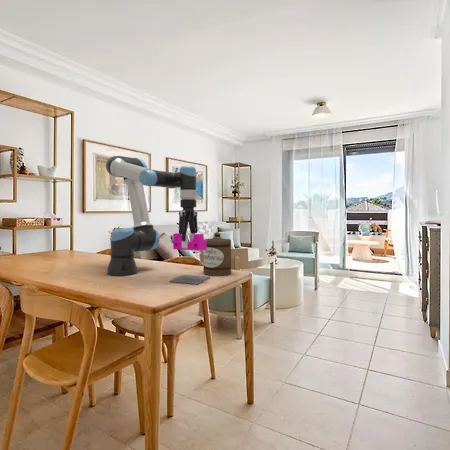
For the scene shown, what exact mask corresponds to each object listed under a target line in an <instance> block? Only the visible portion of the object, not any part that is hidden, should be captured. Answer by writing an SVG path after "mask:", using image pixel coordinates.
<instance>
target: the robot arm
mask: <svg viewBox="0 0 450 450" xmlns="http://www.w3.org/2000/svg"><path fill="white" fill-rule="evenodd" d="M105 170H106V171H107V173H108V174H109V175H111V176H113V177H117V178H122V179H123V183H124V184H126V185H127V190H128V197H129V203H130V208H131V214H132V220H133V221H132V222H133V226H132V227H125V228H124V227H122V228H116V229H114V230H112V231H111V232H110V260H109V263H108V266H107V269H106V274H107V275H110V276H117V277H119V276H120V277H122V276H123V277H125V276H131V275H136V274H138V267H137V263H136V261H135V253H137V252H149V251H153V250H155V249H157V248H158V246H159V243H160V232H159V231H158V230H157V229H154V224H153V223H151V221H150V216H149V209H148V206H147V200H146V193H145V187H144V186H146V187H158V188H166V189H177V188H179V191H180V192H179V193H180V204H179V205H180V208H182V211H178V215H179V217H178V219H179V221H178V233H179V234H181V235H182V248H188V241H189V242H191V241H192V240H193V238H194V234H198V231H199V229H198V212H197V211H195V208H197V200H196V198H197V168H196V167H195V166H192V165H183V166H181V167H180V168H179V171H176V172H172V171H162V170H156V169H151V168H148V165H147V163H146V162H145V161H144V160H143V159H141V158H137V157H129V156H123V155H113V156H111V157H109V158H108V159H107V160H106V162H105ZM188 225H189V226H188ZM188 227H189V230H190V233H189V234H187V232H188ZM188 236H189V237H188ZM188 238H189V239H188Z"/></svg>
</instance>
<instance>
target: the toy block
mask: <svg viewBox="0 0 450 450" xmlns="http://www.w3.org/2000/svg"><path fill="white" fill-rule="evenodd" d="M204 235H205V234H204V233H195V234H194V238H193V240H192V241H191V242H190V240H188V248H182V234H179V232H177V233H176V232H175V233H173V234H172V240H173V241H172V247H173V250H176V251H177V250H179V251H180V250H181V251H196V252H197V251H198V252H200V251H204V250H207V240H204V239H205V237H204Z"/></svg>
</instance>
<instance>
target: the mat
mask: <svg viewBox="0 0 450 450" xmlns="http://www.w3.org/2000/svg"><path fill="white" fill-rule="evenodd" d="M209 279H211V276H206V275H195V274H194V275H193V274H191V275H190V274H183V275H180V276H178V277H175V278H173V279H171V280H169V283H172V284H173V283H175V284H183V285H193V286H194V285H195V286H196V285H197V286H198V285H201V284H202V283H204V282H205V281H208V280H209Z"/></svg>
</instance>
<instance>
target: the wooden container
mask: <svg viewBox="0 0 450 450" xmlns="http://www.w3.org/2000/svg"><path fill="white" fill-rule="evenodd" d="M221 234H222V233H221V232H220V231H219V232H218V231H216V232H214V234H213V235H214V236H213V237H212V238H204V240H207V250H203V263H202V264H203V271H202V272H203V275H205V276H206V275H207V276H210V277H211V276H212V277H217V276H218V277H221V276H229V275H231V274H232V240H231V239H230V238H222V237H221Z"/></svg>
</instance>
